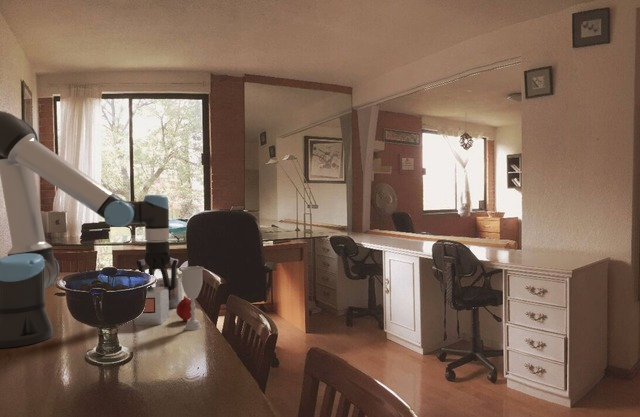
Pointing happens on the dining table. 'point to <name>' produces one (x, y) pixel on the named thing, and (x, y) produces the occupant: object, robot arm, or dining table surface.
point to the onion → (184, 309)
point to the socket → (172, 292)
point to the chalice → (192, 291)
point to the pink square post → (150, 305)
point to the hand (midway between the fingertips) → (158, 310)
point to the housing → (160, 307)
